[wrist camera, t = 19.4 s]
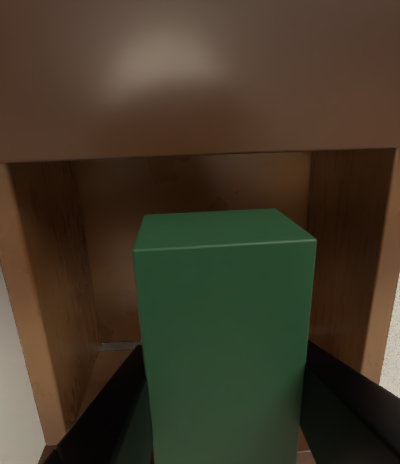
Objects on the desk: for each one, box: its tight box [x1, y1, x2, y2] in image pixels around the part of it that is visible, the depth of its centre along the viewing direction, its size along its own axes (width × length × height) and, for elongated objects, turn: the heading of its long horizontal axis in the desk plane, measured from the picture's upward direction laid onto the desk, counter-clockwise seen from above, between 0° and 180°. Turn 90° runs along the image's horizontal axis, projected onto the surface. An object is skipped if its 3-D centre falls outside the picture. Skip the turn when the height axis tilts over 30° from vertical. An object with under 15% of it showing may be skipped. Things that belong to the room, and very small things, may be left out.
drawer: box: [0, 148, 400, 464], centre depth 13 cm, size 21×13×7 cm, turn 2°
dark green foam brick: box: [132, 208, 317, 464], centre depth 8 cm, size 8×4×3 cm, turn 2°
